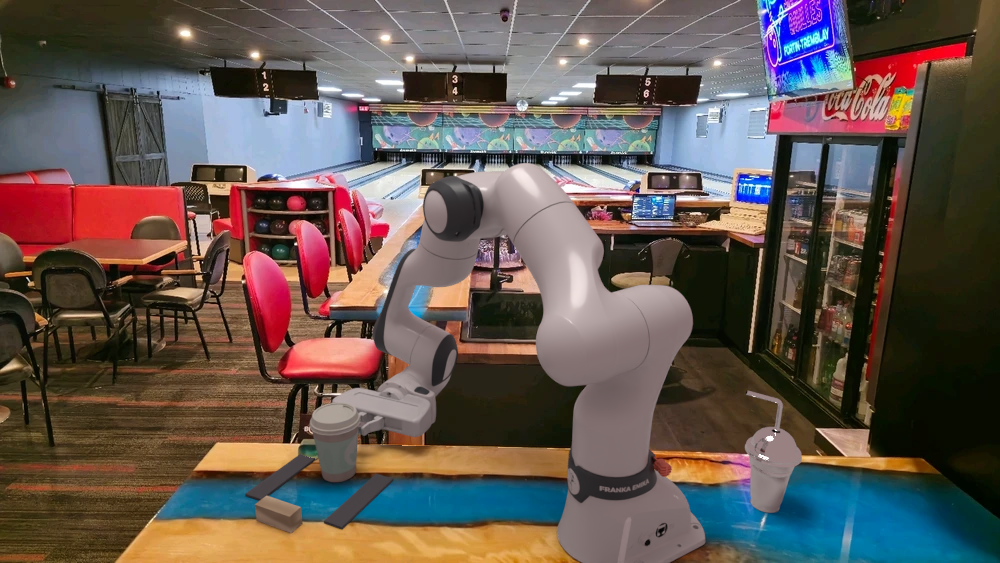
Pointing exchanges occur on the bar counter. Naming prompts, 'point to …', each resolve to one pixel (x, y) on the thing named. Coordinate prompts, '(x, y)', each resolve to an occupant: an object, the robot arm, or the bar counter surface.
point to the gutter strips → (338, 516)
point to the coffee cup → (336, 440)
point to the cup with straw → (770, 462)
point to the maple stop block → (278, 514)
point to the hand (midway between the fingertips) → (357, 430)
